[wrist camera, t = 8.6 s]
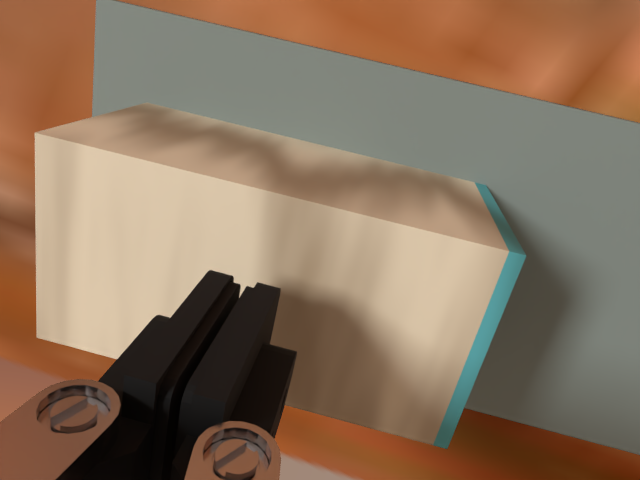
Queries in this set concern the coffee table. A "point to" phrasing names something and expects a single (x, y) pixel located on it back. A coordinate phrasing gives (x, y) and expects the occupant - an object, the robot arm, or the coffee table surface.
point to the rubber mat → (451, 160)
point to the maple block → (277, 256)
